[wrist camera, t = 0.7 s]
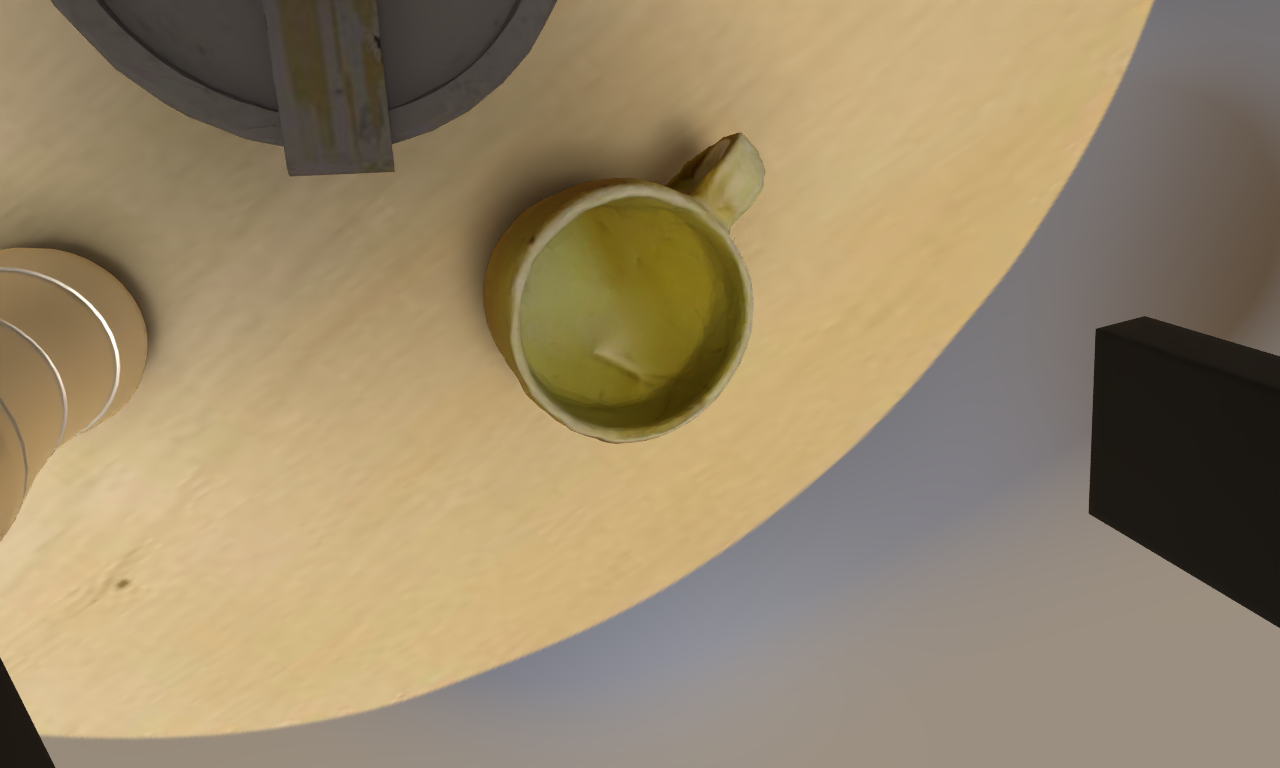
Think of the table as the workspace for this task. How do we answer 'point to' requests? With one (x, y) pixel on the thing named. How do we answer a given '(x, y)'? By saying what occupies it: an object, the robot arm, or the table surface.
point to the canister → (316, 66)
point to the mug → (629, 296)
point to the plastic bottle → (59, 359)
